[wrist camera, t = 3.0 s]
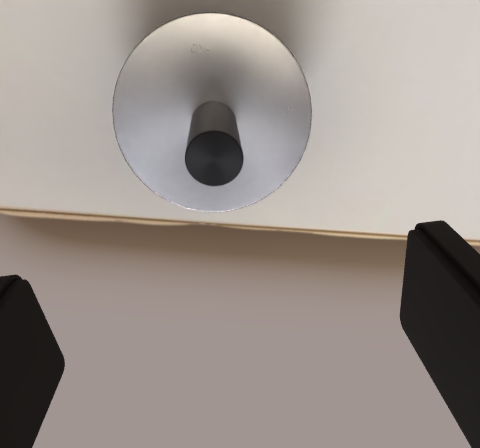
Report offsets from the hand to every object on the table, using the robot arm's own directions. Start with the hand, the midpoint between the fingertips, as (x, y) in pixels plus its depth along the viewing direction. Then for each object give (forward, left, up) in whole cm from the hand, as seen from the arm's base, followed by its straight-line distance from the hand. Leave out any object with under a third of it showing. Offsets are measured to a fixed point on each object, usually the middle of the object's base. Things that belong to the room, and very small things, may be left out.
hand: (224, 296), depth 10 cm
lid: (0, 0, -17) cm, 17 cm away
